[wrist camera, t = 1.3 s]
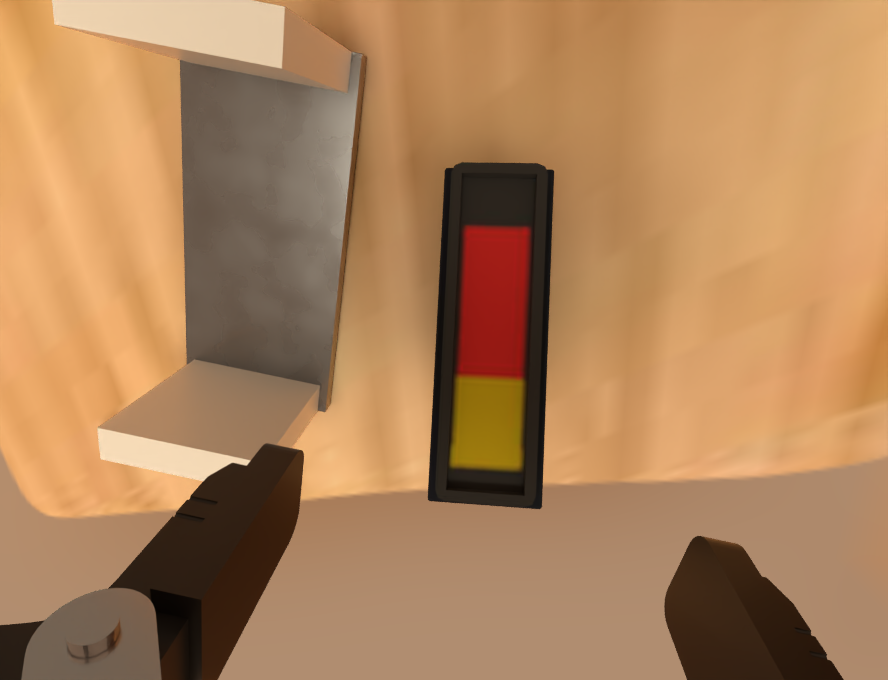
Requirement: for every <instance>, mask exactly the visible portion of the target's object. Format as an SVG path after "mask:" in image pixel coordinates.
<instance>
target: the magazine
mask: <svg viewBox="0 0 888 680" xmlns="http://www.w3.org/2000/svg"><path fill="white" fill-rule="evenodd" d="M553 186H554V171H553V170H546V168H545V166H542V165H540V164H537V163H460V164H457V165H455V166H454V168H446V169H445V179H444V198H443V218H442V237H441V256H440V275H439V294H438V313H437V332H436V351H435V370H434V389H433V409H432V428H431V447H430V466H429V485H428V500H429V501H438V502H450V503H464V504H477V505H491V506H505V507H519V508H532V509H540V508H541V507H542V488H543V460H544V433H545V405H546V378H547V351H548V323H549V296H550V268H551V241H552V214H553Z"/></svg>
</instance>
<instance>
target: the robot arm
mask: <svg viewBox="0 0 888 680" xmlns="http://www.w3.org/2000/svg"><path fill="white" fill-rule="evenodd" d="M303 462H304V454H303V451H302V450H297V449H293V448H288V447H283V446H279V445H274V444H269V443H266V444H264V445H263V446H262V447H261V448H260V449H259V451H258V452H257V453H256V454H255V456H254V457H253V458H252V459H251V461H250V462H249V463H248V465H247V466H246V465H241V464H237V463H230V464H229V465H227V466H225V467H223V468H222V469H220V470H218V471H217V472H215V473H213V474H211V475H210V476H208V477H207V478H206V479H205V480H204V481H203V482H202V484H201V485H200V486H199V487H198V488H197V489H196V490H195V491H194V493H193V494H192V495H191V497H190V499H189V500H187V501H186V502H185V503H184V504H183V505H182V506H181V507H180V509H179V510H178V511H177V512H176V515H175V517H172V518H171V519H170V520H169V521H168V522H167V523H166V524H165V526H164V527H163V528H162V529H161V530H160V531H159V532H158V534H157V535H156V536H155V537H154V538H153V539H152V540H151V542H150V543H149V544H148V545H147V546H146V547H145V548H144V549H143V550H142V552H141V553H140V554H139V555H138V556H137V557H136V558H135V560H134V561H133V562H132V563H131V564H130V565H129V566H128V568H127V569H126V570H125V571H124V572H123V573H122V574H121V576H120V577H119V578H118V579H117V580H116V581H115V582H114V583H113V584H112V585H111V586H110V587H109V588H108V589H103V590H99V591H94V592H91V593H88V594H85V595H83V596H81V597H78V598H76V599H74V600H72V601H70V602H69V603H67V604H65V605H64V606H62V607H61V608H59V609H58V610H56V611H55V612H54V613H52V614H51V615H50V616H49V617H48V618H47V619H46V620H44V621H39V622H32V623H22V624H10V625H0V680H217V679H218V678H219V676H220V674H221V672H222V670H223V668H224V666H225V664H226V662H227V660H228V659H229V656H230V655H231V653H232V651H233V649H234V647H235V645H236V643H237V641H238V639H239V637H240V636H241V634H242V631H243V630H244V628H245V626H246V624H247V622H248V620H249V618H250V616H251V615H252V613H253V611H254V609H255V607H256V605H257V603H258V601H259V599H260V597H261V595H262V594H263V592H264V590H265V588H266V586H267V584H268V582H269V580H270V578H271V576H272V574H273V572H274V570H275V569H276V567H277V565H278V563H279V561H280V559H281V557H282V555H283V553H284V551H285V550H286V548H287V546H288V544H289V542H290V539H291V537H292V534H293V532H294V529H295V526H296V522H297V519H298V514H299V506H300V496H301V485H302V473H303ZM665 618H666V622H667V626H668V629H669V631H670V634H671V637H672V640H673V642H674V645H675V648H676V651H677V653H678V656H679V659H680V661H681V664H682V667H683V670H684V672H685V675H686V678H687V680H843V678H842V676H841V675H840V673H839V672H838V671H837V669H836V668H835V666H834V664H833V663H832V662H831V661H830V660H827V657H826V656H827V654H826V652H825V651H824V649H823V648H822V646H821V645H820V643H819V642H818V640H817V639H816V637H814V636H811V630H810V628H809V627H808V625H807V624H806V622H805V621H804V619H803V618H802V616H801V615H800V613H799V612H798V610H797V609H796V607H795V606H794V604H793V603H792V602H791V601H790V600H789V599H788V598H787V597H786V596H785V595H784V594H783V593H782V592H781V591H780V590H779V589H777V587H776V586H775V585H773V584H772V583H771V582H770V581H769V580H768V579H767V578H765V577H762V576H761V575H760V573H759V571H758V570H757V568H756V567H755V565H754V564H753V562H752V560H751V559H750V557H749V556H748V554H747V553H746V551H745V550H744V548H743V547H742V546H740V545H738V544H735V543H731V542H726V541H721V540H716V539H712V538H707V537H702V536H697V537H695V538H693V539H692V541H691V542H690V544H689V546H688V548H687V550H686V552H685V554H684V556H683V558H682V560H681V563H680V565H679V567H678V569H677V571H676V573H675V575H674V577H673V579H672V581H671V584H670V586H669V587H668V590H667V593H666V597H665Z"/></svg>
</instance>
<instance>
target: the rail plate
mask: <svg viewBox="0 0 888 680" xmlns="http://www.w3.org/2000/svg"><path fill="white" fill-rule="evenodd" d="M366 61H367V57H366V56H364V55H363V54H360V53H355V52H352V53H351V64H350V74H349V85H348V93H343V92H338V91H333V90H328V89H323V88H317V87H312V86H307V85H302V84H297V83H292V82H287V81H282V80H276V79H271V78H266V77H261V76H256V75H251V74H246V73H241V72H235V71H230V70H225V69H220V68H215V67H210V66H205V65H200V64H194V63H189V62H186V61H182V60H180V78H181V123H182V168H183V213H184V258H185V303H186V348H187V364H189V363H190V362H191V361H193V360H194V359H195V360H200V361H205V362H210V363H214V364H219V365H224V366H229V367H234V368H238V369H243V370H248V371H253V372H258V373H262V374H267V375H272V376H277V377H282V378H286V379H291V380H296V381H301V382H305V383H310V384H315V385H320V391H319V401H318V411H323V412H326V410H327V409H328V407H329V406H330V402H331V393H332V383H333V374H334V364H335V355H336V346H337V336H338V327H339V317H340V308H341V298H342V289H343V279H344V270H345V260H346V251H347V241H348V232H349V222H350V213H351V203H352V194H353V185H354V175H355V166H356V156H357V147H358V137H359V128H360V118H361V109H362V99H363V90H364V80H365V71H366Z"/></svg>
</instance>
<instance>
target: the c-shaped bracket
mask: <svg viewBox="0 0 888 680" xmlns="http://www.w3.org/2000/svg"><path fill="white" fill-rule="evenodd" d="M52 4H53V13H54V23H55V25H59V26H62V27H66V28H69V29H73V30H76V31H80V32H83V33H87V34H90V35H94V36H98V37H101V38H105V39H108V40H112V41H115V42H119V43H122V44H126V45H129V46H133V47H136V48H140V49H144V50H147V51H151V52H154V53H158V54H161V55H165V56H168V57H172V58H175V59H179V60H182V61H186V62H189V63H194V64H200V65H205V66H210V67H215V68H220V69H225V70H230V71H235V72H241V73H246V74H251V75H256V76H261V77H266V78H271V79H276V80H282V81H287V82H292V83H297V84H302V85H307V86H312V87H317V88H323V89H328V90H333V91H338V92H343V93H348V85H349V74H350V64H351V53H352V52H351V51H350V50H348V49H347V48H345V47H344V46H342V45H341V44H339V43H338V42H336V41H335V40H333V39H332V38H330V37H329V36H327V35H326V34H325V33H323V32H322V31H320V30H319V29H317V28H316V27H314V26H313V25H311V24H310V23H308V22H307V21H305V20H304V19H302V18H301V17H300V16H298V15H297V14H295V13H294V12H292V11H291V10H289V9H288V8H286V7H285V6H279V5H274V4H269V3H264V2H258V1H253V0H52ZM319 391H320V385H315V384H310V383H305V382H301V381H296V380H291V379H286V378H282V377H277V376H272V375H267V374H262V373H258V372H253V371H248V370H243V369H238V368H234V367H229V366H224V365H219V364H214V363H210V362H205V361H200V360H195V359H194V360H193V361H191V362H190V363H189V364H187V365H186V366H184V367H183V368H182V369H180V370H179V371H177V372H176V373H174V374H173V375H172V376H170V377H169V378H167V379H166V380H164V381H163V382H162V383H160V384H159V385H157V386H156V387H154V388H153V389H152V390H150V391H149V392H147V393H146V394H145V395H143V396H142V397H140V398H139V399H137V400H136V401H135V402H133V403H132V404H130V405H129V406H127V407H126V408H125V409H123V410H122V411H120V412H119V413H118V414H116V415H115V416H113V417H112V418H110V419H109V420H108V421H106V422H105V423H103V424H102V425H100V426H99V427H98V428H97V430H98V440H99V449H100V459H102V460H107V461H112V462H116V463H121V464H126V465H130V466H135V467H140V468H144V469H149V470H154V471H158V472H163V473H168V474H172V475H177V476H182V477H186V478H191V479H196V480H200V481H204V480H205V479H206V478H207V477H208V476H210V475H211V474H213V473H215V472H217V471H218V470H220V469H222V468H223V467H225V466H227V465H229V464H230V463H237V464H241V465H246V466H247V465H248V463H249V462H250V461H251V459H252V458H253V457H254V456H255V454H256V453H257V452H258V451H259V449H260V448H261V447H262V446H263V445H264V444H266V443H269V444H274V445H279V446H283V447H288V448H293V446H294V445H295V443H296V442H297V440H298V439H299V437H300V436H301V434H302V433H303V431H304V430H305V428H306V427H307V425H308V424H309V423H310V421H311V420H312V418H313V417H314V415H315V414H316V412H317V411H318V401H319Z"/></svg>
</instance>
